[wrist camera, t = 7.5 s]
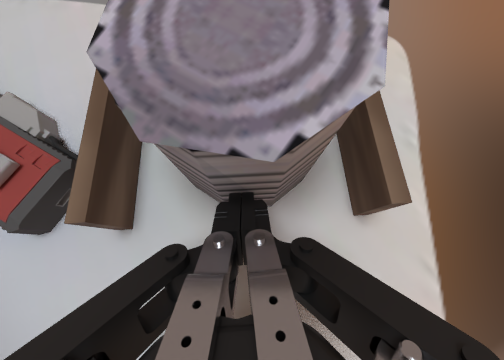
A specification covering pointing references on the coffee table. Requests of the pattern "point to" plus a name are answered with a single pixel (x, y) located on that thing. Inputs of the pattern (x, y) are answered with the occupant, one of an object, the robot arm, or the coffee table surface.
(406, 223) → the coffee table surface
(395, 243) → the coffee table surface
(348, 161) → the walnut bay
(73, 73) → the coffee table surface
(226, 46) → the can
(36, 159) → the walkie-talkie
